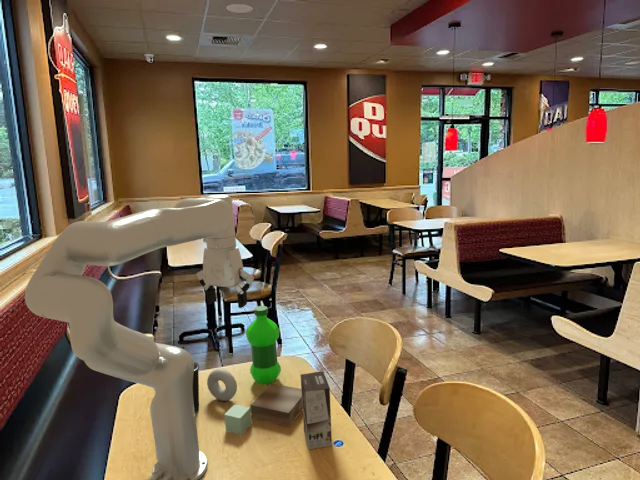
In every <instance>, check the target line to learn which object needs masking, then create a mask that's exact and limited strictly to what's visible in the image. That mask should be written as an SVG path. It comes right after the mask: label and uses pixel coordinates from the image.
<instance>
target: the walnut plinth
mask: <svg viewBox="0 0 640 480" xmlns="http://www.w3.org/2000/svg"><path fill="white" fill-rule="evenodd" d="M302 411H303V408H302V393H301V388H297V387H294V386H293V387H292V386H287V385H282V384H276V383H271V384H268V386H267V387H266V388H265V389H264V390H263V391H262V392H261V393H260V394H259V396H257V398H256V399H254V400H253V401H252V402H251V404H250V412H251V419H257V420H261V421H266V422H270V423H274V424H278V425H281V426H287V427H290V426H291V425H292V423H293V422H294V421H295V420H296V418H297V417H298V415H299V414H301V412H302Z"/></svg>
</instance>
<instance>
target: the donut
mask: <svg viewBox="0 0 640 480" xmlns="http://www.w3.org/2000/svg"><path fill="white" fill-rule="evenodd" d="M219 381H220V382H222V384H224V386H225V388H223V387H221V386H220V384H219ZM206 383H207V389H208V391H209V393H210V394H211V396H213V397H214V398H216V400H219V401H225V402H227V401H230V400H231V399H233V398H234V397H235V395H236V393H237V390H238V384H237V381H236V378H235V376H234V375H233V374H232V373H231V372H230V371H228V370H227V369H224V368H216V369H214V370H212V371H211V372H210V373H209V375H208V376H207V381H206Z"/></svg>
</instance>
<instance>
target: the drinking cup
mask: <svg viewBox="0 0 640 480" xmlns="http://www.w3.org/2000/svg"><path fill="white" fill-rule="evenodd" d="M181 348H182V349H184V350H186V349H185V346H181ZM199 369H200V365H199V363H198V362H196V361H194V374H193V401H194V409H195V414H197V413H198V412H199V409H200V392H199V390H200V389H199V388H200V384H199V380H200V378H199Z"/></svg>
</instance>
